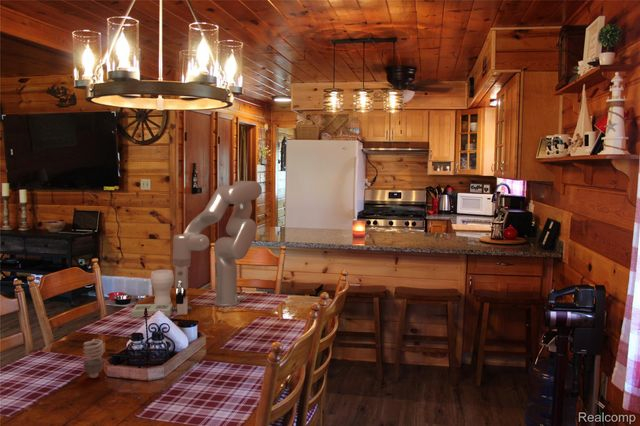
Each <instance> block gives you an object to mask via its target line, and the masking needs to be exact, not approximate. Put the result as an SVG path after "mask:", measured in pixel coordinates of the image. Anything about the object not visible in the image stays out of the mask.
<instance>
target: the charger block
mask: <svg viewBox="0 0 640 426" xmlns="http://www.w3.org/2000/svg"><path fill="white" fill-rule="evenodd" d="M188 300H189V299H188V296H185V297H184V301H183V304H176V305H177V306H176V307H177V311H176V312H177V316H181V315H188V307H189V305H188V303H189V302H188Z"/></svg>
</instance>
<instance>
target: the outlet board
mask: <svg viewBox="0 0 640 426" xmlns="http://www.w3.org/2000/svg"><path fill="white" fill-rule="evenodd" d="M144 307H147V311H148V316H150V315H152V314H153V313H154V312H155V311H157V310H161V311H163V312H164V313H165V314H166V315H167V316H166V317H170V316H171V315H172V312H173V309H174V304H173V303H172V302H171V303H168V304H155V303H147V304H146V303H144V304H143V303H142V304H141V303H139V304H138V303H137V304H135V305H134V306H133V309H132V310H131V312H130V316H131V318H144V317H143V316H144Z"/></svg>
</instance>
